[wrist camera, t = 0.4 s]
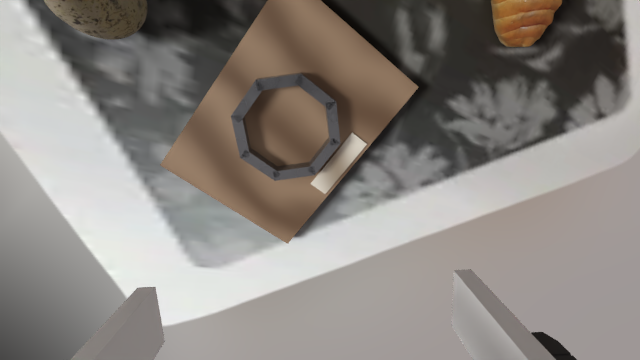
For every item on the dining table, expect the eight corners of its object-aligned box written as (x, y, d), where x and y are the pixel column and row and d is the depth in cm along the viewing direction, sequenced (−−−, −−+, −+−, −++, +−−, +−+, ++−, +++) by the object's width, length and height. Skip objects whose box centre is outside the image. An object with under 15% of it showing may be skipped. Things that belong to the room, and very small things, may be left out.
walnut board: (287, -26, 31) (287, -30, 29) (413, 85, 35) (419, 87, 34) (165, 160, 36) (159, 165, 35) (287, 236, 41) (287, 244, 39)
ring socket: (275, 51, 32) (274, 52, 31) (357, 117, 35) (359, 120, 33) (216, 136, 34) (213, 140, 33) (297, 191, 37) (297, 196, 36)
